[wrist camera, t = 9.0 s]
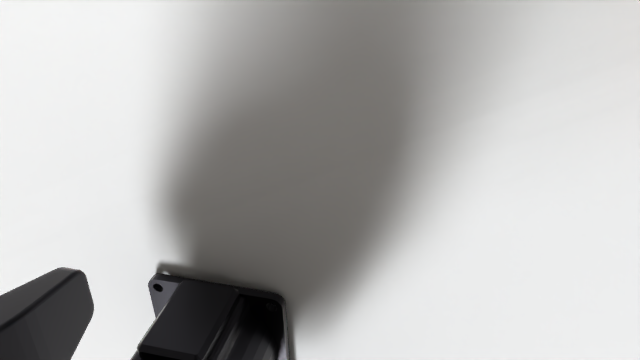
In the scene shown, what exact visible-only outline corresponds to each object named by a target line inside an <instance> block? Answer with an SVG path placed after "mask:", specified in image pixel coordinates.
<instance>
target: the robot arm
mask: <svg viewBox="0 0 640 360" xmlns="http://www.w3.org/2000/svg"><path fill="white" fill-rule="evenodd" d="M148 287H149V291H150V295H151V300H152V304H153V308H154V312H155V316H156V319H155V321H154V322H153V324H152V325H151V326H150V328H149V329H148V331H147V332H146V334H145V335H144V337H143V338H142V340H141V341H140V343H139V344H138V347H137V351H136V352H135V354H134V355H133V357H132V358H131V360H290V357H289V344H288V331H287V318H286V305H285V300H284V299H283V297H282V296H280V295H279V294H276V293H272V292H266V291H260V290H254V289H248V288H242V287H236V286H230V285H224V284H218V283H212V282H206V281H200V280H195V279H189V278H183V277H177V276H171V275H165V274H155V275H154V276H153V277H152V278H151V280H150V281H149V283H148ZM271 303H272V304H275V305H272V304H271ZM93 311H94V304H93V300H92V296H91V292H90V289H89V285H88V282H87V278H86V275H85V274H84V273H83V272H82V271H81V270H77V269H71V268H65V267H61V268H57V269H55V270H53V271H51V272H49V273H47V274H44V275H42V276H40V277H38V278H36V279H34V280H32V281H30V282H28V283H26V284H24V285H22V286H19V287H17V288H15V289H13V290H11V291H9V292H7V293H5V294H3V295H1V296H0V360H71V358H72V356H73V354H74V352H75V350H76V348H77V346H78V344H79V342H80V340H81V338H82V336H83V334H84V332H85V330H86V328H87V326H88V324H89V322H90V320H91V318H92V315H93Z"/></svg>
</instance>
